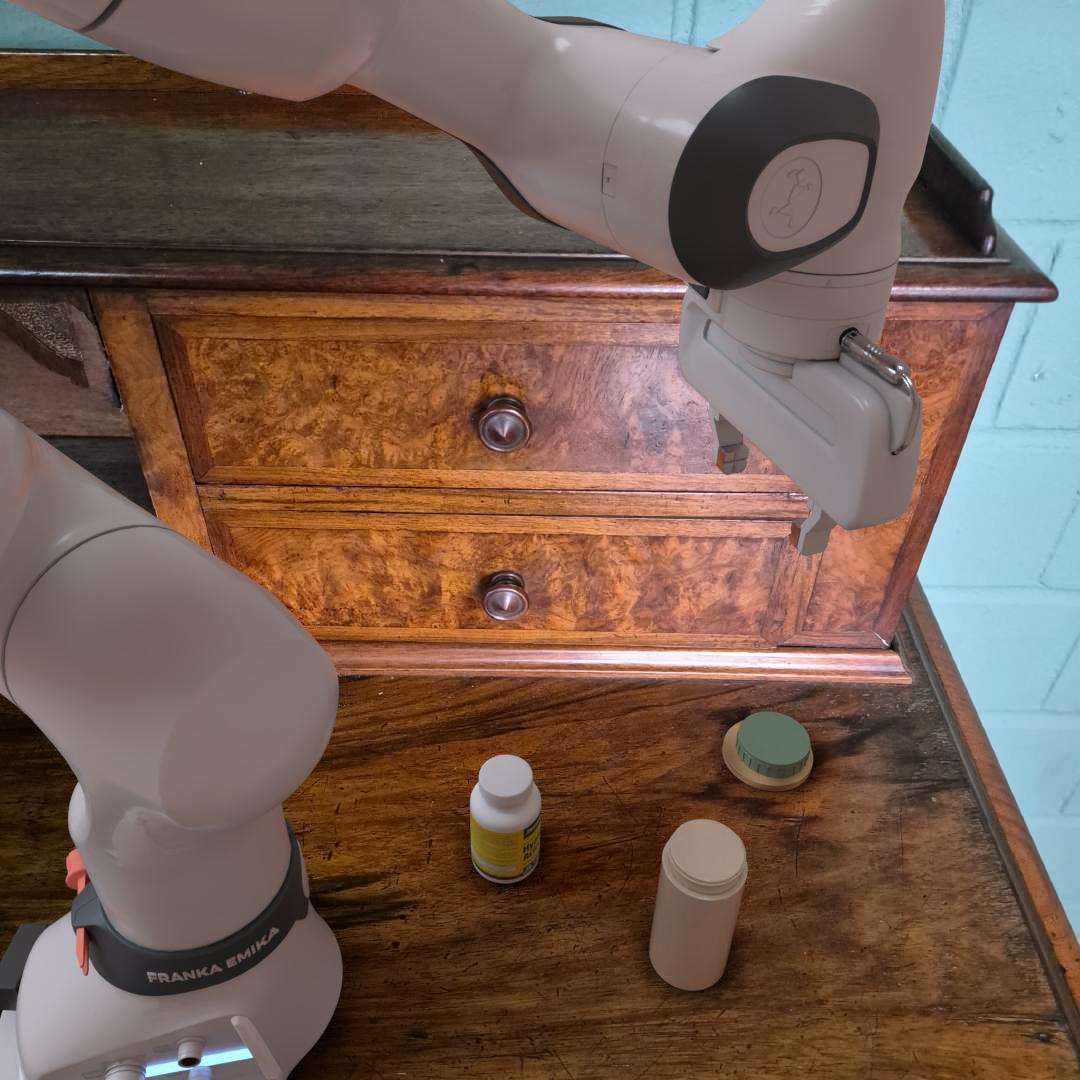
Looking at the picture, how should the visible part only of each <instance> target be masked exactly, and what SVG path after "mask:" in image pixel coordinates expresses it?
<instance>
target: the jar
mask: <svg viewBox="0 0 1080 1080" xmlns="http://www.w3.org/2000/svg"><path fill="white" fill-rule="evenodd" d="M748 873H749V867H748V862H747V850H746V847H745V845H744V841H743V840H742V839H741V838H740V836H739V834H738V833H737V834H736V833H735V831H734V830H732V829H731V828H730V827H728V826H726V825H725V824H723V823H722V822H719V821H717V820H713V819H707V818H697V819H691V820H689V821H686V822H684V823H683V824H681V825H680V826H678V827H677V828H676V830H675V831H673V833H672V835H671V836H670V838H669V839H668V840H667V841H666V843H665V845H664V847H663V849H662V853H661V861H660V868H659V876H658V883H657V889H656V896H655V902H654V908H653V909H654V910H653V917H652V923H651V930H650V937H649V945H648V954H649V959H650V962H651V965H652V967H653V969H654V970H655V972H656V973H657V975H658V976H659V977H660V978H661V979H662V980H663V981H665V982H666V983H667V984H669V985H670V986H672V987H674V988H676V989H680V990H683V991H689V992H691V991H693V992H696V991H702V990H706V989H709V988H710V987H712V986H713V985H715V984H717V982H719V980H720V979H721V978H722V977H723V975H724V973H725V970H726V967H727V963H728V959H729V955H730V951H731V946H732V942H733V938H734V933H735V929H736V925H737V921H738V916H739V913H740V908H741V904H742V899H743V896H744V891H745V887H746V882H747V878H748Z"/></svg>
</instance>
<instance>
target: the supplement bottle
mask: <svg viewBox="0 0 1080 1080" xmlns="http://www.w3.org/2000/svg"><path fill="white" fill-rule="evenodd" d="M469 818H470V819H469V821H470V823H469V824H470V852H471V860H472V864H473V866H474V868H475V870H476V872H478V873H479V875H481V877H483V878H485V879H486V880H488V881H491V882H493V883H497V884H513V883H518V882H520V881H522V880H524V879H526V878H527V877H528V876H530V875H531V874H532V873H533V872H534V870H535V869H536V867H537V865H538V863H539V859H540V847H541V829H542V828H541V826H542V825H541V824H542V796H541V793H540V790H539V787H538V786H537V785H536V783H535V782H534V773H533V769H532V767H531V765H530V764H529V763H528V762H527V761H526V760H525V759H523V758H522V757H520V756H517V755H513V754H499V755H496V756H492V757H491V758H489V759H487V760H486V761H485V762H484V763H483V765H482V766H481V767H480V770H479V773H478V782H476V784H475V785H474V786H473V789H472V790H471V794H470V799H469Z"/></svg>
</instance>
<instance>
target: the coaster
mask: <svg viewBox="0 0 1080 1080" xmlns="http://www.w3.org/2000/svg"><path fill="white" fill-rule="evenodd" d="M743 721H744V719H743V720H740V721H739V722H737V723H735V724H733V725H732V726H731V727H730V728H729V729H728V731H727V732H726V733H725V736H724V739H723V742H722V749H721V751H722V757H723V760H724V763H725V765H726V767H727V768H728V770H729V771H730V773H732V774H733V775H734V776H735V777H736V778H737V779H738V780H740V781H741V782H743V783H744V784H746V785H748V786H749V787H752V788H755V789H758V790H762V791H767V792H785V791H790V790H793V789H796V788H798V787H799V786H801V785H802V784H804V782H806V781H807V779H808V778H809V776H810V774H811V771H812V768H813V764H814V753H813V750H812V747H811V746H810V753H809V757H808V760H807V762H806V766H804V767H803V768H802V769H801V771H799V772H797V773H796V774H794V775H791V776H788V777H785V778H784V777H780V778H779V777H776V778H775V777H769V776H765V775H762V774H760V773H757V772H756V771H754V770H752V769H751V768H749V767H748V766H747V765H746V764H745V763H744V762H743V761H742V760H741V758H740V756H739V754H737V747H736V741H737V740H736V738H737V733H738V731H739V728H740V725H741V723H742V722H743Z"/></svg>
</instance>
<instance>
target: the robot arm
mask: <svg viewBox="0 0 1080 1080" xmlns="http://www.w3.org/2000/svg"><path fill="white" fill-rule="evenodd" d="M5 1H6V2H8V3H10V4H12V5H15V6H17V7H19V8H21V9H23V10H25V11H28V12H30V13H32V14H34V15H37V16H39V17H41V18H43V19H46V20H48V21H50V22H52V23H54V24H56V25H58V26H61V27H63V28H66V29H68V30H72V31H73V32H74V33H76V34H79V35H81V36H84V37H86V38H88V39H90V40H92V41H95V42H98V43H100V44H102V45H104V46H107V47H109V48H112V49H115V50H117V51H119V52H122V53H125V54H127V55H129V56H132V57H134V58H137V59H139V60H142V61H145V62H148V63H150V64H153V65H156V66H159V67H162V68H165V69H168V70H171V71H174V72H176V73H180V74H183V75H186V76H189V77H192V78H196V79H199V80H203V81H207V82H210V83H214V84H217V85H221V86H225V87H229V88H232V89H237V90H240V91H245V92H249V93H254V94H258V95H263V96H267V97H272V98H276V99H283V100H286V101H292V102H306V101H308V100H313V99H315V98H318V97H321V96H324V95H326V94H328V93H330V92H333V91H335V90H336V89H338V88H341V86H342V85H345V84H346V85H349V86H352V87H355V88H358V89H360V90H362V91H364V92H366V93H368V94H370V95H372V96H373V97H376V98H378V99H380V100H381V101H383V102H385V103H387V104H390V105H391V106H393V107H395V108H397V109H399V110H401V111H403V112H405V113H407V114H409V115H411V116H413V117H414V118H416V119H418V120H420V121H422V122H424V123H426V124H429V125H430V126H433V127H434V128H436V129H438V130H439V131H442V132H443V133H445V134H447V135H450V136H451V137H453V138H455V139H456V140H458V141H459V142H461V143H462V144H463V145H464V146H466V148H468V150H469V151H470V152H471V153H472V154H473V156H474V157H475V158H476V159H477V160H478V162H479V163H480V164H481V165H482V167H483V168H484V170H485V171H486V172H487V174H488V176H490V179H492V181H493V182H494V184H495V185H496V186H497V188H498V189H499V190H500V192H501V193H502V194H503V195H504V196H505V198H506V199H507V200H508V201H509V202H510V203H511V204H512V205H513V206H514V207H515V208H516V209H518V210H519V211H520V212H521V213H523V214H524V215H525V216H527V217H529V218H531V219H533V220H536V221H539V222H541V223H545V224H547V225H551V226H553V227H557V228H559V229H563V230H564V231H565V230H566V231H569V232H572V233H573V232H574V233H576V234H578V235H580V236H583V237H585V238H587V239H589V240H591V241H594V242H596V243H598V244H601V245H602V246H604V247H606V248H609V249H612V250H613V251H616V252H618V253H620V254H622V255H625V256H627V257H629V258H631V259H634V260H636V261H638V262H641V263H643V264H645V265H647V266H649V267H652V268H654V269H656V270H659V271H660V272H663V273H665V274H668V275H669V276H672V277H674V278H677V279H678V280H681V281H682V282H683V283H684V284H685V286H687V287H688V288H687V289H686V291H685V292H684V295H683V299H682V302H681V312H680V322H679V333H678V349H677V350H678V353H677V354H678V355H677V356H678V363H679V368H680V371H681V375H682V379H683V381H684V382H685V383H686V384H688V385H689V386H690V387H691V388H692V389H693V390H694V391H695V392H696V393H697V394H698V395H700V397H702V398H703V399H704V401H706V402H707V403H708V404H709V405H708V412H707V413H708V419H709V423H710V429H711V433H712V438H713V442H714V447H713V455H712V463H713V464H714V466H716V467H717V469H719V470H720V471H721V472H722V473H723V474H724V475H726V476H731V475H732V474H740V473H742V472H744V471H745V470H746V468H747V465H748V461H747V460H748V458H749V453H750V448H749V447H748V446H747V445H746V444H745V442H744V438H746V439H747V440H748V441H749V442H750V443H751V444H752V445H753V446H754V447H755V448H756V449H757V450H758V451H759V452H760V453H761V454H762V455H763V456H764V457H766V458H767V460H768V461H770V462H771V463H772V465H774V466H775V467H776V468H777V469H778V470H779V471H780V472H782V473H783V474H784V476H786V477H787V478H788V479H789V480H790V481H791V482H792V483H793V484H794V485H796V486H797V488H799V489H800V490H801V492H803V493H804V494H805V495H806V496H807V501H806V507H807V509H808V510H809V511H811V513H810V514H809V515H808V516H807V517H806V518H805V517H799V518H795V519H792V521H791V526H790V533H789V535H788V541H789V542H790V544H792V546H793V547H794V548H795V549H796V550H797V551H798V552H799V553H800V555H802V556H804V557H808V556H809V557H810V556H813V555H818V554H821V553H823V552H825V550H826V549H827V548H828V545H829V540H830V537H831V533H832V529H835V528H836V527H837V526H839V527H841V529H844V530H846V531H857V530H862V529H863V530H864V529H868V528H873V527H877V526H881V525H884V524H888V523H891V522H893V521H895V520H897V519H900V518H901V517H902V516H903V515H905V514H906V513H907V511H908V509H909V507H910V505H911V500H912V497H913V492H914V486H915V484H916V478H917V473H918V466H919V460H920V453H921V446H922V439H923V428H924V427H923V423H924V417H923V398H922V397H921V395H919V393H918V389H917V386H916V384H915V383H914V381H913V379H912V378H911V376H912V370H911V368H910V367H909V365H907V363H905V361H904V360H902V359H900V358H899V357H897V356H896V355H890V354H888V352H886V351H885V350H883V349H882V348H881V347H880V345H878V342H879V341H880V339H881V335H882V331H883V328H884V323H885V320H886V319H885V318H886V315H887V310H888V305H889V301H890V299H891V294H892V289H893V285H894V282H895V278H896V273H897V269H898V265H899V260H900V257H901V252H902V230H901V225H902V223H901V222H902V213H903V210H904V205H905V203H906V199H907V197H908V195H909V193H910V191H911V189H912V187H913V185H914V183H915V182H916V180H917V178H918V176H919V174H920V171H921V168H922V165H923V162H924V158H925V157H924V156H925V153H926V147H927V144H928V139H929V135H930V130H931V125H932V120H933V116H934V111H935V105H936V100H937V95H938V89H939V88H938V87H939V83H940V78H941V70H942V64H943V63H942V62H943V56H944V55H943V54H944V44H945V29H946V1H945V0H763V1H762V3H761V4H760V5H759V6H758V7H757V8H756V9H755V10H754V11H753V12H752V13H750V15H748V16H747V17H746V18H745V19H744V20H743V21H741V22H740V23H739V24H736V26H734V27H733V28H732V29H730V30H729V31H727V32H726V33H724V34H722V35H720V36H719V37H716V38H715V39H712V40H710V41H707V42H706V43H705V46H706V47H701V46H697V45H692V44H688V43H682V42H678V41H675V40H674V41H673V40H668V39H664V38H659V37H654V36H650V35H646V34H641V33H636V32H631V31H629V30H626V29H624V28H621V27H618V26H616V25H613V24H609V23H606V22H603V21H598V20H595V19H591V18H588V17H582V16H572V15H551V16H550V15H549V16H548V15H547V16H537V15H536V16H534V15H531V14H528V13H527V12H525V11H523V10H521V9H520V8H519V7H517V6H516V5H515V4H514V3H512V2H511V1H509V0H5ZM329 655H330V654H328V652H327V651H326V650H325V649H324V648H323V646H322V645H321V644H320V643H319V642H318V641H317V640H316V639H315V637H314V636H313V635H312V634H311V632H310V631H308V629H307V628H306V627H305V626H304V625H303V623H302V622H301V620H299V619H298V618H297V617H296V616H295V615H294V613H293V612H292V611H290V609H288V607H287V606H285V604H284V603H283V602H282V601H281V600H280V599H279V598H278V597H277V596H276V595H275V594H274V593H272V592H271V591H270V590H269V589H267V588H266V587H264V586H263V585H261V584H260V583H258V582H257V581H255V580H253V579H252V578H250V577H249V576H247V575H246V574H245V573H243V572H241V571H240V570H239V569H236V568H235V567H233V565H230V564H229V563H227V562H226V561H224V560H223V559H221V558H220V557H218V556H217V555H215V554H214V553H212V552H210V551H209V550H207V549H205V547H203V546H201V545H199V544H198V543H197V542H195V541H193V540H191V539H190V538H189V537H187V535H184V534H183V533H181V532H180V531H178V530H176V529H175V528H173V527H172V526H170V525H169V524H167V523H166V522H164V521H163V520H161V519H159V518H158V517H157V516H155V515H153V514H152V513H150V512H149V511H147V510H146V509H144V508H143V507H142V506H140V505H138V504H137V503H135V502H134V501H132V500H130V499H129V498H127V496H124V495H123V494H122V493H120V492H119V491H117V490H116V489H114V488H113V487H111V486H110V485H108V484H107V483H106V482H104V481H102V480H101V479H100V478H98V477H97V476H96V475H94V474H93V473H92V472H90V471H88V470H87V469H86V468H84V467H83V466H82V465H80V464H78V463H77V462H76V461H75V460H73V459H72V458H70V457H69V456H67V455H66V454H64V453H63V452H62V451H60V450H59V449H57V448H56V447H55V446H53V445H52V444H50V443H49V442H48V441H47V440H45V439H44V438H43V437H41V436H40V435H38V434H37V433H36V432H34V431H33V430H32V429H30V428H29V427H27V425H25V424H24V423H23V422H21V421H20V420H18V418H16V417H15V416H14V415H13V414H11V413H9V411H7V410H6V409H4V408H2V407H1V406H0V695H1V696H3V697H5V698H6V699H7V700H9V702H11V703H12V704H14V705H15V706H16V707H17V708H18V709H19V710H20V711H21V712H23V714H24V715H26V716H28V718H29V719H30V720H31V721H32V722H33V723H34V724H35V725H36V726H37V728H39V730H40V731H41V732H42V733H43V734H44V736H45V737H46V738H47V739H48V741H50V743H51V744H52V745H53V746H54V747H55V748H56V750H57V751H58V752H59V753H60V755H61V756H62V757H63V758H64V759H65V761H66V763H67V765H68V766H69V768H70V769H71V771H72V772H73V774H74V775H75V777H76V779H77V783H76V785H75V787H74V789H73V791H72V795H71V797H70V801H69V806H68V813H67V824H68V831H69V835H70V838H71V840H72V842H73V844H74V847H75V848H74V849H73V850H71V851H70V852H69V853H68V855H67V856H66V858H65V859H66V862H65V864H66V870H67V875H66V877H65V884H66V885H67V887H68V888H70V889H73V890H76V891H77V895H76V896H75V898H74V899H73V901H72V903H71V909H70V911H69V912H67V913H66V914H64V915H63V916H61V917H60V918H59V919H57V920H56V921H54V922H53V923H52V924H50V925H48V924H41V923H23V922H22V923H20V925H19V927H18V928H17V930H16V933H15V934H14V936H13V938H12V940H11V942H10V944H9V945H8V947H7V949H6V950H5V952H4V955H3V956H2V958H1V960H0V1011H2V1012H1V1015H0V1080H287V1079H288V1077H289V1075H290V1074H291V1073H292V1071H293V1070H294V1069H295V1067H296V1066H297V1065H298V1064H299V1063H300V1062H301V1061H302V1059H303V1058H304V1057H305V1056H306V1055H307V1054H308V1053H309V1052H310V1051H311V1050H312V1049H313V1047H314V1046H315V1045H316V1043H317V1042H318V1041H319V1040H320V1038H321V1037H322V1035H323V1034H324V1032H325V1031H326V1029H327V1027H328V1025H329V1024H330V1022H331V1020H332V1017H333V1015H334V1013H335V1011H336V1009H337V1006H338V1002H339V999H340V996H341V991H342V984H343V976H344V974H343V973H344V972H343V970H344V969H343V968H344V967H343V957H342V953H341V948H340V946H339V943H338V940H337V938H336V935H335V933H334V932H333V930H332V929H331V927H330V925H328V923H327V922H326V921H325V919H323V918H322V917H321V915H319V914H318V913H317V911H316V910H315V908H314V907H313V905H312V903H311V900H310V895H311V894H310V893H311V891H310V885H309V879H308V873H307V868H306V862H305V858H304V855H303V851H302V848H301V844H300V841H299V840H298V839H297V837H296V834H295V830H294V828H293V826H292V825H291V822H290V821H289V820H288V818H287V816H286V815H285V813H284V809H283V804H282V803H283V802H285V801H286V800H287V799H288V798H289V797H290V796H292V795H293V794H294V793H295V791H297V790H298V789H299V788H300V787H301V786H302V785H303V783H304V782H305V781H306V780H307V779H308V777H309V776H310V775H311V774H312V773H313V771H314V769H315V768H316V766H317V765H318V764H319V762H320V760H321V759H322V757H323V755H324V753H325V751H326V749H327V747H328V745H329V743H330V740H331V737H332V735H333V731H334V728H335V723H336V721H337V716H338V709H339V700H340V699H339V698H340V684H339V683H340V682H339V677H338V673H337V668H336V667H335V664H334V662H333V660H332V658H331V656H329Z"/></svg>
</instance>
